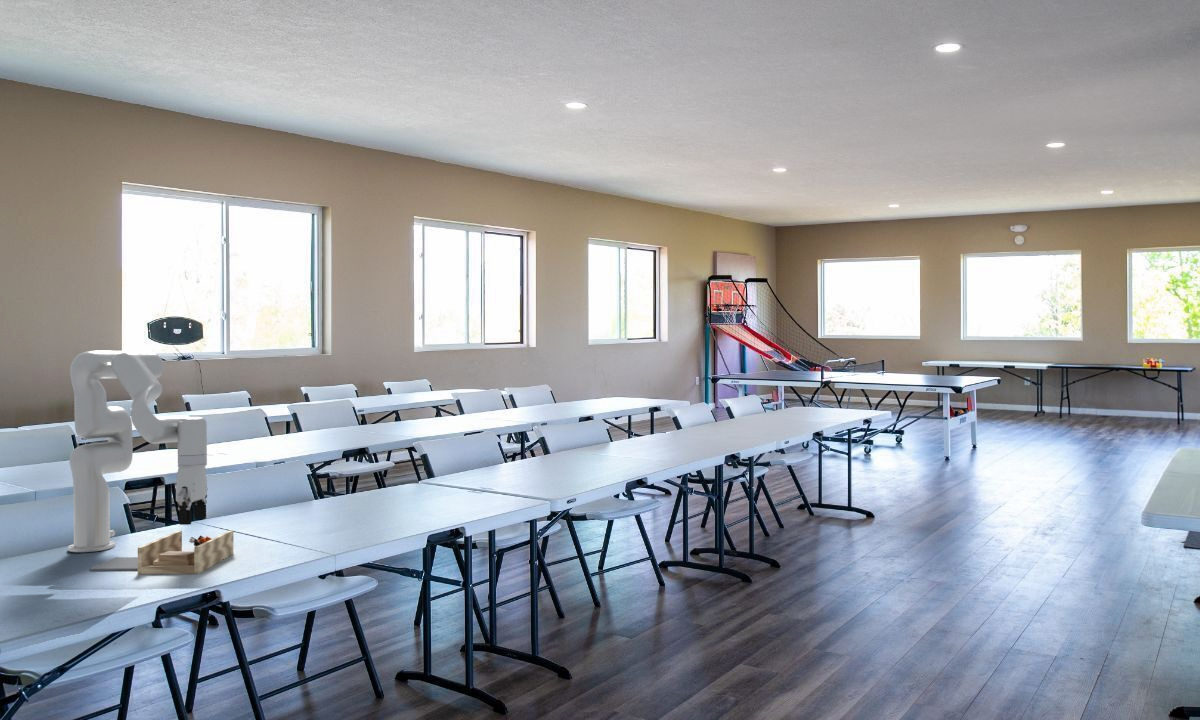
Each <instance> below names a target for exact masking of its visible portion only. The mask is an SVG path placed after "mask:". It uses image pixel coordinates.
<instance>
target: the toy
mask: <svg viewBox="0 0 1200 720" xmlns="http://www.w3.org/2000/svg"><path fill="white" fill-rule="evenodd" d="M211 539H212V538H211V537H209V536H205V537H204V536H202V535H199V536H198V537H197V538H195V537H193V536H191V537H190V539H189V540H188V542H189V543H191V544H193V546H194V547H196V546H199V545H201V544H203V543H205V542H207V541H209V540H211Z"/></svg>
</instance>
